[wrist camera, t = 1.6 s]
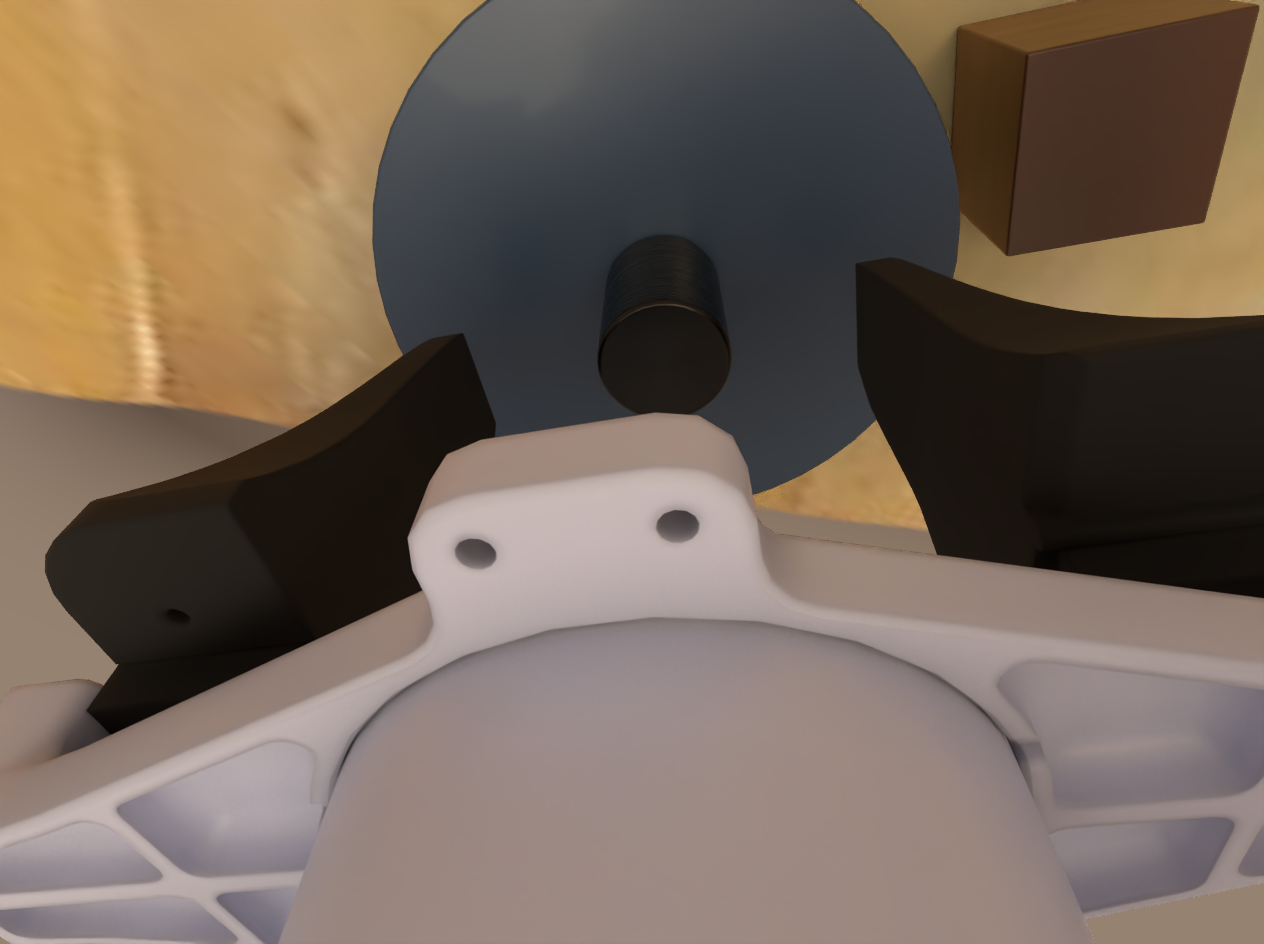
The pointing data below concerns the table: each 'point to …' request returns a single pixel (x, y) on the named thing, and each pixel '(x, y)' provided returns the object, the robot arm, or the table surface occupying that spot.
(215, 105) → the table surface
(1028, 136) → the block
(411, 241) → the lid
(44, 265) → the table surface
